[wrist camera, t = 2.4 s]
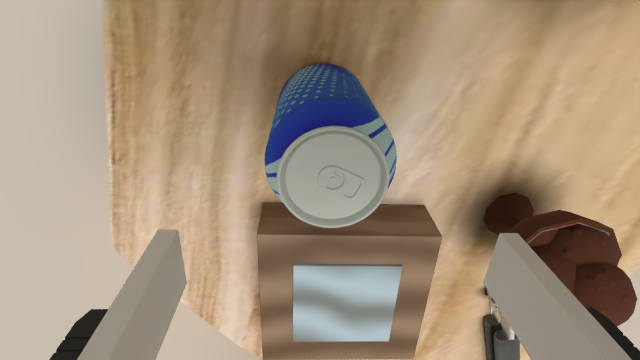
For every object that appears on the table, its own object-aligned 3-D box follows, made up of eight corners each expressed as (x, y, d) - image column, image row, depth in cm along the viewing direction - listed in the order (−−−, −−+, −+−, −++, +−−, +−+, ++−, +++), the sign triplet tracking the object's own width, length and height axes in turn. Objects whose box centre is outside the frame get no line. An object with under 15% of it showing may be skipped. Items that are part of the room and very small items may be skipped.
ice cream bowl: (537, 153, 38) (661, 237, 25) (566, 225, 43) (685, 329, 29) (446, 202, 41) (514, 303, 27) (483, 265, 45) (557, 379, 32)
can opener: (478, 268, 46) (497, 298, 41) (529, 259, 45) (553, 288, 41) (477, 365, 54) (492, 398, 50) (519, 358, 54) (539, 391, 50)
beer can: (301, 158, 38) (298, 258, 23) (263, 83, 34) (233, 148, 20) (377, 126, 36) (423, 211, 22) (346, 45, 33) (377, 84, 18)
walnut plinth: (263, 202, 40) (256, 236, 34) (424, 205, 41) (443, 238, 35) (267, 319, 48) (262, 362, 42) (401, 319, 49) (413, 361, 43)
